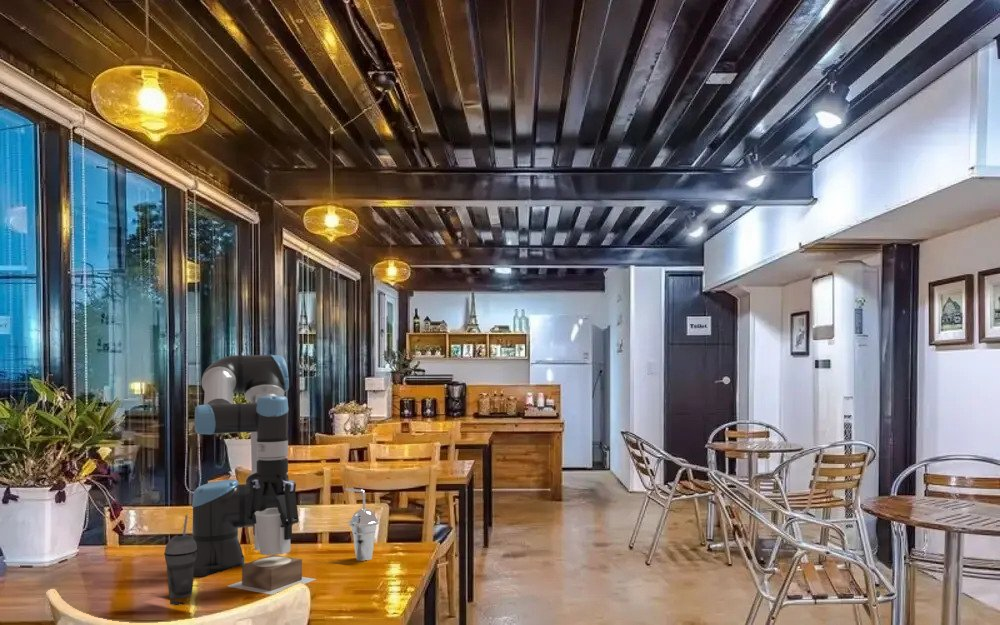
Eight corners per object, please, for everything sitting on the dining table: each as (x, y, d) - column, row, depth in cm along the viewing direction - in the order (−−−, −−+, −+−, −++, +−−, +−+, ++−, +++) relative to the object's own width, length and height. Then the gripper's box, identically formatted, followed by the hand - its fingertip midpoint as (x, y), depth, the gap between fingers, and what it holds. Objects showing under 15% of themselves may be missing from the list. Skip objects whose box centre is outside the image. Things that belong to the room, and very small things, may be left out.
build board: (226, 592, 181) (226, 586, 181) (270, 577, 193) (270, 571, 193) (274, 601, 173) (274, 595, 173) (316, 585, 185) (316, 579, 185)
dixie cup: (283, 556, 179) (283, 514, 180) (249, 556, 179) (249, 514, 180) (293, 547, 187) (293, 507, 188) (261, 548, 188) (261, 508, 188)
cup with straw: (370, 563, 204) (369, 490, 206) (341, 561, 207) (341, 488, 208) (384, 555, 212) (384, 485, 214) (356, 553, 215) (356, 484, 216)
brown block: (242, 585, 181) (242, 564, 181) (273, 574, 190) (273, 554, 190) (271, 590, 176) (271, 569, 176) (301, 579, 185) (301, 558, 185)
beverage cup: (170, 597, 177) (170, 512, 179) (201, 596, 178) (202, 511, 179) (158, 607, 170) (159, 519, 171) (191, 606, 171) (192, 518, 172)
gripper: (231, 458, 187) (230, 550, 185) (291, 461, 177) (292, 559, 175) (254, 454, 193) (254, 543, 192) (314, 458, 183) (314, 552, 182)
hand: (272, 550), depth 183 cm, fingers closed on dixie cup, 8 cm apart
